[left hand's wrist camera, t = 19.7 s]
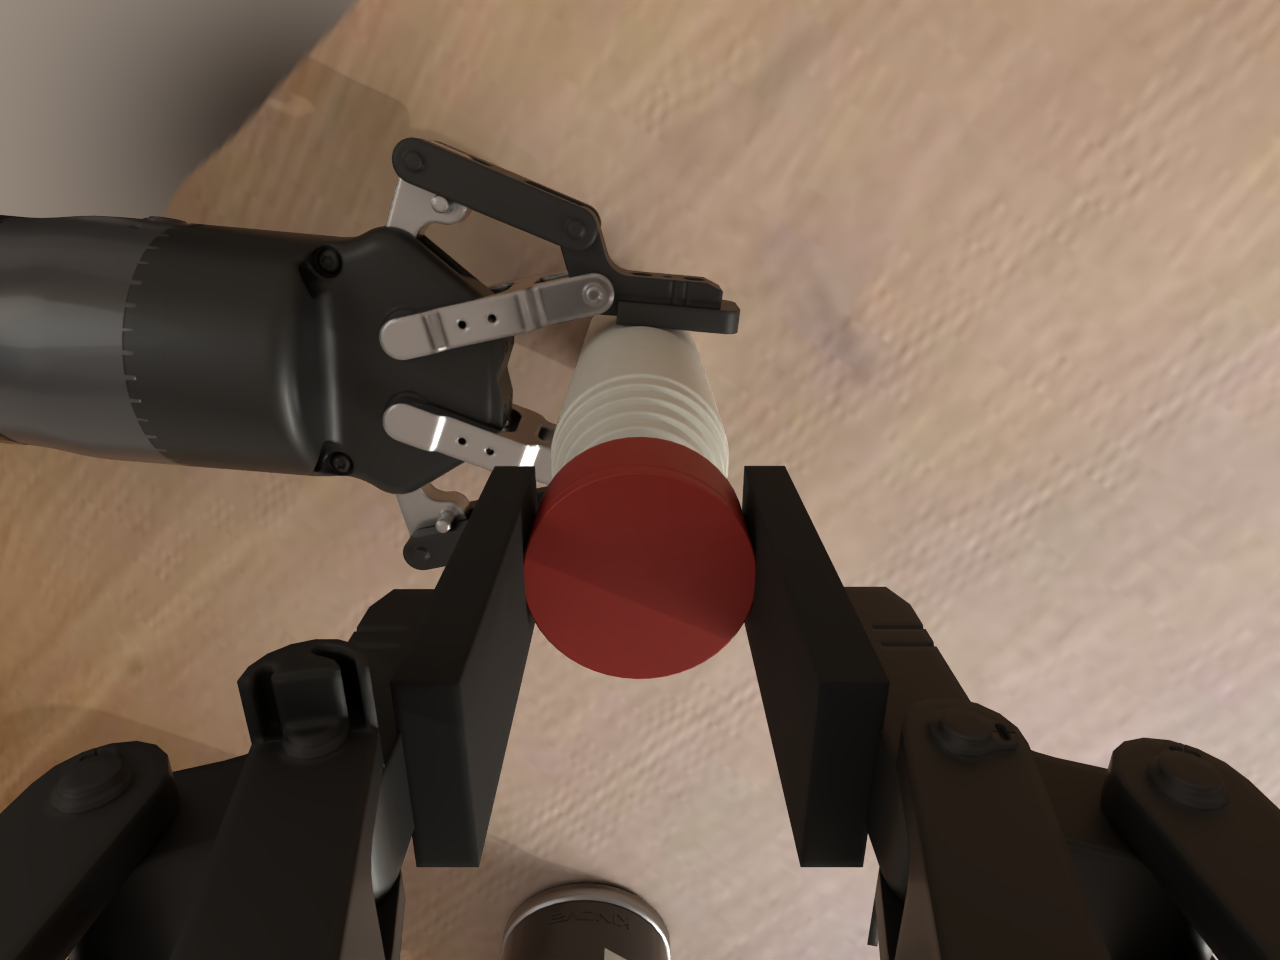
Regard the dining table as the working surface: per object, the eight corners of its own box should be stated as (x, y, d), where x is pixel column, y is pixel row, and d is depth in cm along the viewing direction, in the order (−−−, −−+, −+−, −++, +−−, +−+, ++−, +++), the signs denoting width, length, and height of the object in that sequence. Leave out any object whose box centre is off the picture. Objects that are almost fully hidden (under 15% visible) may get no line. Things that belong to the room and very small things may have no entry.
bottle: (664, 410, 32) (692, 691, 15) (569, 367, 31) (484, 609, 14) (711, 317, 31) (803, 508, 13) (613, 269, 30) (578, 406, 13)
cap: (567, 640, 16) (558, 698, 14) (509, 462, 14) (491, 502, 12) (760, 601, 15) (776, 655, 14) (721, 413, 14) (733, 447, 12)
